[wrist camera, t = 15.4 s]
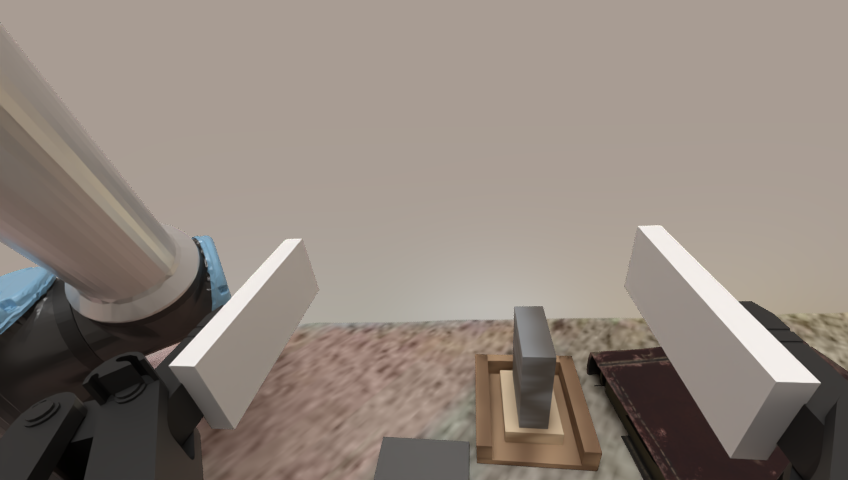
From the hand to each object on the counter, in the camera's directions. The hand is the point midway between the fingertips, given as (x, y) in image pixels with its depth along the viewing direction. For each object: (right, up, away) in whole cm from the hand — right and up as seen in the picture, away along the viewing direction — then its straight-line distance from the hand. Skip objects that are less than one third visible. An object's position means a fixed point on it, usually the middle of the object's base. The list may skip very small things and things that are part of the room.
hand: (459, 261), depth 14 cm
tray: (+11, -20, +27) cm, 36 cm away
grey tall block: (+11, -19, +27) cm, 35 cm away
